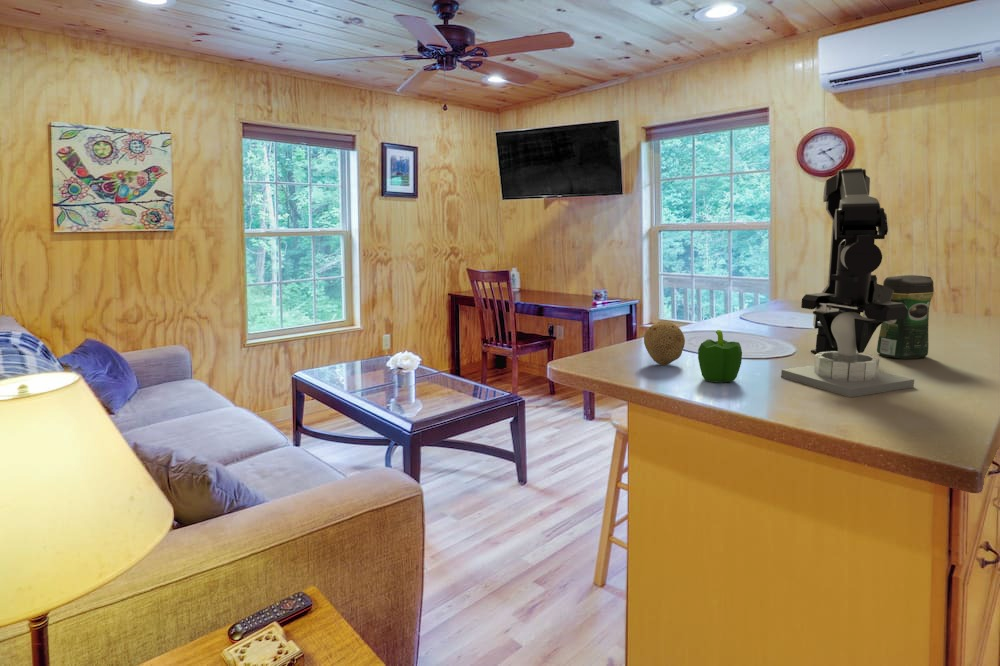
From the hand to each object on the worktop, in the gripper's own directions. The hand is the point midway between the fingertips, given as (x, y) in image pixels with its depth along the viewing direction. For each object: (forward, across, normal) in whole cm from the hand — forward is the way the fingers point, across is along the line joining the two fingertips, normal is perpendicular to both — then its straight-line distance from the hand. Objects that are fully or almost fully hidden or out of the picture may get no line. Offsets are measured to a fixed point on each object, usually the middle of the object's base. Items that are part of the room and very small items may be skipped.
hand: (847, 349), depth 116 cm
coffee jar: (+7, +11, -30) cm, 33 cm away
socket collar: (+5, 0, 0) cm, 5 cm away
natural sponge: (+7, +27, +23) cm, 36 cm away
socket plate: (+6, 0, 0) cm, 6 cm away
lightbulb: (+4, 0, 0) cm, 4 cm away
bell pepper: (+7, +11, +21) cm, 25 cm away
